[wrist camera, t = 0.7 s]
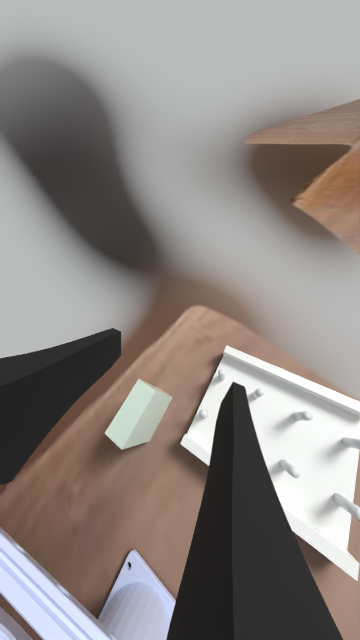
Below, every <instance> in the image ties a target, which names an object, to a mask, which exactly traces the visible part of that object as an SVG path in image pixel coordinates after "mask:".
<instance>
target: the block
mask: <svg viewBox="0 0 360 640" xmlns="http://www.w3.org/2000/svg"><path fill="white" fill-rule="evenodd" d="M172 398H173V397H171V396H170V395H168V394H167V393H165V392H164V391H162V390H161V389H159V388H157V387H155V386H153V385H151V384H148V383H146V382H144V381H142V380H140V379H138V381H137V383H136V384H135V386H134V387H133V389H132V391H131V392H130V394H129V395H128V397H127V399H126V400H125V402H124V403H123V405H122V406H121V408H120V410H119V411H118V413H117V414H116V416H115V418H114V419H113V421H112V422H111V424H110V426H109V427H108V429H107V430H106V432H105V434H106V435H107V436H108V437H109V438H110V439H111V440H112V441H113V442H114V443H115V444H116V445H117V446H118V447H119V448H120V449H121V450H123V449H126V448H129V447H132V446H136V445H139V444H142V443H146V442H149V441H150V439H151V437H152V435H153V434H154V432H155V430H156V428H157V426H158V424H159V422H160V420H161V418H162V417H163V415H164V413H165V411H166V409H167V407H168V405H169V403H170V402H171V400H172Z"/></svg>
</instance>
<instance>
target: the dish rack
mask: <svg viewBox="0 0 360 640" xmlns="http://www.w3.org/2000/svg"><path fill="white" fill-rule="evenodd" d="M233 382H235V383H238V384H240V385H242V386H244V387H245V388H246V393H247V398H248V403H249V408H250V412H251V416H252V420H253V424H254V427H255V431H256V434H257V438H258V441H259V444H260V448H261V451H262V454H263V457H264V460H265V463H266V466H267V469H268V471H269V474H270V477H271V480H272V482H273V485H274V488H275V490H276V493H277V495H278V498H279V500H280V503H281V505H282V508H283V510H284V513H285V515H286V517H287V520H288V522H289V525H290V527H291V529H292V531H293V532H295V533H296V534H297V535H298V536H300V537H301V538H302V539H304V540H305V541H306V542H308V543H309V544H310V545H311V546H313V547H314V548H315V549H317V550H318V551H319V552H320V553H322V554H323V555H324V556H326V557H327V558H328V559H329V560H331V561H332V562H333V563H335V564H336V565H337V566H338V567H340V568H341V569H342V570H344V571H345V572H346V573H347V574H349V575H350V576H351V577H353V578H354V579H355V580H356V581H358V571H359V563H358V562H357V561H356V560H355V559H354V557H353V556H352V555H351V554H350V553H349V552H348V551H347V546H348V538H349V530H350V522H351V515H353V516H354V517H355V518H357V519H358V520H359V521H360V507H358V506H357V505H355V504H354V503H353V498H354V489H355V481H356V473H357V465H358V457H359V449H360V402H359V401H357V400H354V399H352V398H349V397H347V396H345V395H342V394H340V393H338V392H335V391H333V390H331V389H328V388H326V387H323V386H321V385H319V384H316V383H314V382H312V381H309V380H307V379H305V378H302V377H300V376H297V375H295V374H293V373H290V372H288V371H286V370H283V369H281V368H279V367H276V366H274V365H271V364H269V363H267V362H264V361H262V360H260V359H257V358H255V357H253V356H250V355H248V354H245V353H243V352H241V351H238V350H236V349H234V348H231V347H229V346H227V345H226V348H225V350H224V355H223V358H222V360H221V362H220V364H219V366H218V368H217V370H216V373H215V375H214V377H213V379H212V381H211V383H210V385H209V388H208V390H207V392H206V394H205V396H204V398H203V400H202V403H201V405H200V407H199V409H198V411H197V413H196V415H195V418H194V420H193V422H192V424H191V426H190V428H189V430H188V433H187V434H185V435H184V437H183V439H182V441H181V443H180V444H181V445H182V446H184V447H185V448H186V449H188V450H189V451H190V452H192V453H193V454H194V455H195V456H197V457H198V458H199V459H201V460H202V461H203V462H204V463H206V464H207V465H208V466H209V464H210V457H211V451H212V444H213V438H214V431H215V425H216V420H217V416H218V412H219V408H220V404H221V402H222V400H223V398H224V397H225V395H226V393H227V391H228V390H229V388H230V386H231V384H232V383H233Z"/></svg>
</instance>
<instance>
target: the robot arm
mask: <svg viewBox="0 0 360 640" xmlns="http://www.w3.org/2000/svg"><path fill="white" fill-rule="evenodd" d="M120 355H121V332H120V331H118V330H116V329H114V328H112V329H108V330H105V331H102V332H99V333H96V334H94V335H91V336H88V337H85V338H81V339H78V340H75V341H72V342H69V343H65V344H62V345H59V346H55V347H52V348H48V349H44V350H40V351H36V352H31V353H27V354H22V355H17V356H11V357H5V358H0V485H3V484H6V483H9V482H11V481H12V480H13V479H14V477H15V476H16V474H17V473H18V472H19V470H20V469H21V468H22V466H23V465H24V464H25V462H26V461H27V460H28V458H29V457H30V456H31V454H32V453H33V452H34V451H35V449H36V448H37V447H38V445H39V444H40V443H41V442H42V440H43V439H44V438H45V437H46V435H47V434H48V433H49V432H50V431H51V429H52V428H53V427H54V426H55V425H56V423H57V422H58V421H59V420H60V418H61V417H62V416H63V415H64V414H65V413H66V412H67V410H69V408H70V407H71V406H72V405H73V404H74V403H75V402H76V401H77V400H78V398H80V396H82V394H84V393H85V392H86V391H87V390H88V389H89V388H90V387H91V386H92V385H93V384H94V383H95V382H96V381H97V380H98V379H99V378H100V377H102V376H103V375H104V374H105V373H106V372H107V371H108V370H109V369H110V368H111V367H112V365H113V364H114V363H115V362H116V361H117V359H118V358H119V357H120ZM128 562H130V563H131V567H129V565H128ZM0 593H1V594H2V595H3V597H4V598H5V599H6V600H7V601H8V602H9V603H10V604H11V605H12V606H13V607H14V608H15V610H16V611H17V612H18V613H19V614H20V615H21V616H22V617H23V618H24V619H25V620H26V622H27V623H28V624H29V625H30V626H31V627H32V628H33V629H34V630H35V631H36V632H37V634H38V635H39V636H40V637H41V638H42V639H43V640H343V638H342V636H341V634H340V632H339V630H338V628H337V626H336V624H335V622H334V620H333V618H332V616H331V614H330V612H329V610H328V607H327V605H326V603H325V601H324V599H323V597H322V595H321V593H320V591H319V589H318V587H317V584H316V582H315V580H314V578H313V576H312V574H311V572H310V569H309V567H308V565H307V563H306V560H305V558H304V556H303V554H302V551H301V549H300V547H299V545H298V543H297V540H296V538H295V536H294V534H293V531H292V529H291V527H290V525H289V522H288V520H287V517H286V515H285V513H284V510H283V508H282V505H281V503H280V500H279V498H278V495H277V493H276V490H275V488H274V485H273V482H272V480H271V477H270V474H269V471H268V469H267V466H266V463H265V460H264V457H263V454H262V451H261V448H260V444H259V441H258V438H257V434H256V431H255V427H254V424H253V420H252V416H251V412H250V408H249V403H248V398H247V393H246V388H245V387H244V386H242V385H240V384H238V383H235V382H233V383H232V384H231V386H230V388H229V390H228V391H227V393H226V395H225V397H224V398H223V400H222V402H221V404H220V408H219V412H218V416H217V420H216V425H215V431H214V438H213V444H212V451H211V457H210V464H209V470H208V476H207V481H206V485H205V489H204V494H203V498H202V502H201V506H200V510H199V514H198V518H197V522H196V527H195V531H194V535H193V539H192V542H191V546H190V550H189V554H188V558H187V562H186V566H185V569H184V573H183V577H182V581H181V584H180V588H179V592H178V596H177V599H176V600H175V599H174V598H173V597H172V595H171V594H170V593H169V592H168V590H167V589H166V588H165V587H164V585H163V584H162V583H161V581H160V580H159V579H158V578H157V576H156V575H155V574H154V573H153V571H152V570H151V569H150V568H149V566H148V565H147V564H146V563H145V561H144V560H143V559H142V558H141V556H140V555H139V554H138V552H137V551H136V550H131V552H130V553H129V554H128V556H127V559H126V561H125V563H124V565H123V567H122V569H121V571H120V574H119V576H118V578H117V580H116V582H115V584H114V586H113V588H112V591H111V593H110V595H109V597H108V599H107V601H106V603H105V605H104V608H103V610H102V612H101V614H100V616H99V618H98V620H97V619H96V618H95V617H94V616H93V615H92V614H91V613H90V612H89V611H88V610H87V609H86V608H85V607H84V606H83V605H82V604H81V603H79V602H78V601H77V600H76V599H75V598H74V597H73V596H72V595H71V594H70V593H69V592H68V591H67V590H66V589H65V588H64V587H63V586H62V585H61V584H60V583H59V582H57V581H56V580H55V579H54V578H53V577H52V576H51V575H50V574H49V573H48V572H47V571H46V570H45V569H44V568H43V567H42V566H41V565H40V564H39V563H38V562H36V561H35V560H34V559H33V558H32V557H31V556H30V555H29V554H28V553H27V552H26V551H25V550H24V549H23V548H22V547H21V546H20V545H19V544H18V543H17V542H16V541H14V540H13V539H12V538H11V537H10V536H9V535H8V534H7V533H6V532H5V531H4V530H3V529H2V528H1V527H0ZM0 640H33V639H32V638H31V637H30V636H29V635H28V634H27V633H26V632H25V630H24V629H23V628H22V627H21V626H20V625H19V624H18V623H17V622H16V621H15V620H14V619H13V618H12V617H11V616H10V615H8V614H7V613H6V612H5V611H4V610H3V609H2V608H1V607H0Z"/></svg>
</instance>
